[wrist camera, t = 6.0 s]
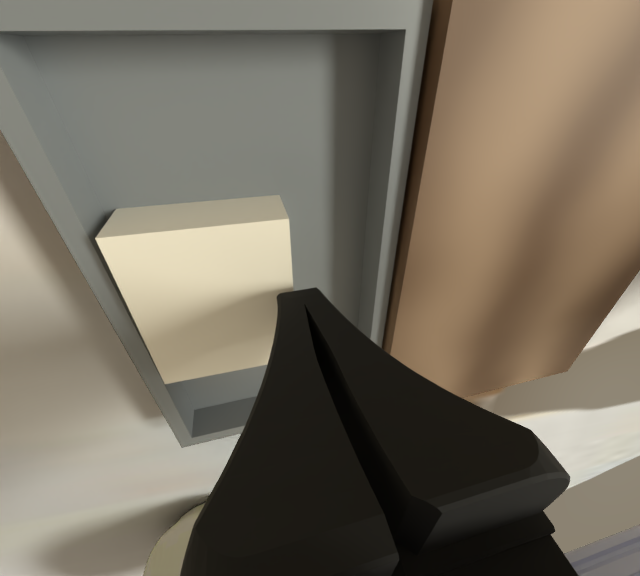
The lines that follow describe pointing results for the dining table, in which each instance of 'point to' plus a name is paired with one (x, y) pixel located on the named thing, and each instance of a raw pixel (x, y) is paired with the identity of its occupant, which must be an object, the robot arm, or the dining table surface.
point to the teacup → (172, 547)
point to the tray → (220, 142)
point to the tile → (202, 280)
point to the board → (517, 190)
